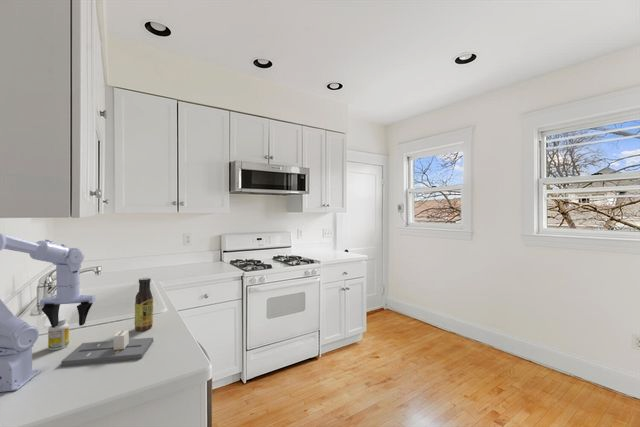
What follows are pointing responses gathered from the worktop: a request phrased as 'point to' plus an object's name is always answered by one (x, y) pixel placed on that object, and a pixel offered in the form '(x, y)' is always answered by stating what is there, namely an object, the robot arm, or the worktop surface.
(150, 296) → the sauce bottle
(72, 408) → the worktop surface
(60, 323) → the supplement bottle
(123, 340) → the fader cap
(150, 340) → the fader console
